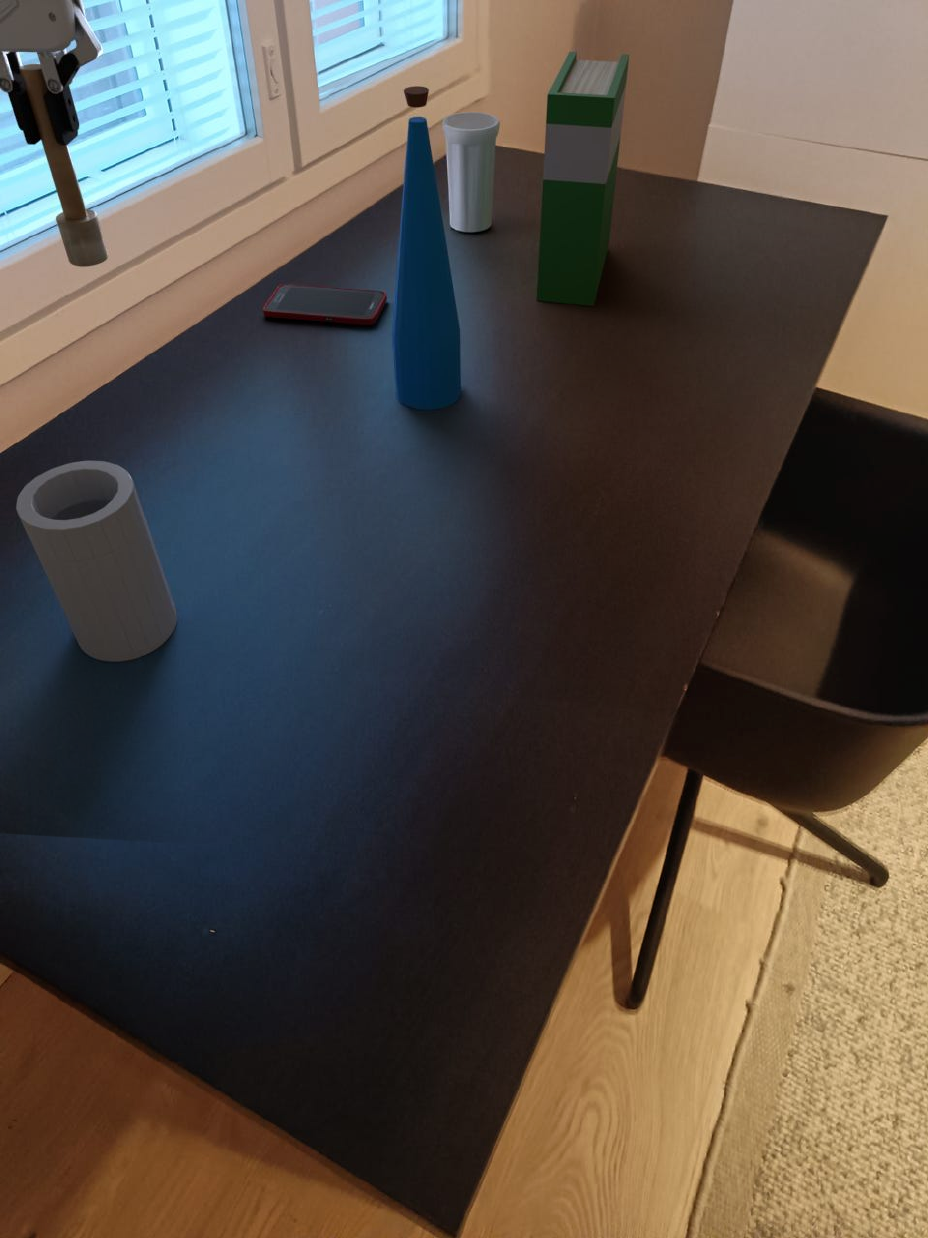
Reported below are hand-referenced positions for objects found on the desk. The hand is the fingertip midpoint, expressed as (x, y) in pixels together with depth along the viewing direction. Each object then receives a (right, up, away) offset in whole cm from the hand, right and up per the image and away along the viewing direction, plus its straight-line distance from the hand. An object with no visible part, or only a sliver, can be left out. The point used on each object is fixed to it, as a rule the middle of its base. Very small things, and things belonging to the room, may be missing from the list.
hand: (53, 138), depth 78 cm
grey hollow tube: (+7, -42, -2) cm, 43 cm away
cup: (+37, +17, +55) cm, 69 cm away
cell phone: (+18, -2, +37) cm, 42 cm away
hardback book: (+51, +5, +44) cm, 68 cm away
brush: (0, -7, +8) cm, 11 cm away
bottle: (+32, -16, +23) cm, 43 cm away
